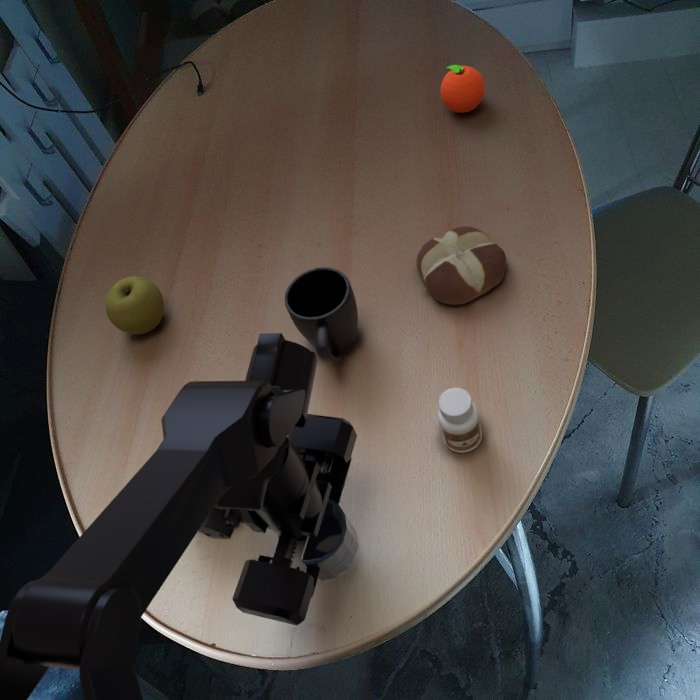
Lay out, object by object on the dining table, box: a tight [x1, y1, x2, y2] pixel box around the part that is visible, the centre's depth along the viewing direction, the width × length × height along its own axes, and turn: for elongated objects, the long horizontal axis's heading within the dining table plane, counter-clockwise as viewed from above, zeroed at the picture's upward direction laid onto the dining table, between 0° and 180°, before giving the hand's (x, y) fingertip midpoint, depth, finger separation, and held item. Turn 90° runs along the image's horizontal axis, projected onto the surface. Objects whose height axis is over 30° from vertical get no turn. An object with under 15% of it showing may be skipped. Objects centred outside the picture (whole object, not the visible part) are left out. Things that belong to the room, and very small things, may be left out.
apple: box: [104, 275, 165, 335], centre depth 95 cm, size 8×8×7 cm
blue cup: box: [277, 498, 359, 581], centre depth 67 cm, size 7×7×6 cm
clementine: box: [440, 64, 486, 114], centre depth 107 cm, size 8×7×7 cm
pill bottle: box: [436, 387, 483, 454], centre depth 73 cm, size 4×4×8 cm
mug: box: [284, 266, 359, 363], centre depth 83 cm, size 8×12×10 cm
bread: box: [416, 226, 507, 306], centre depth 88 cm, size 11×11×5 cm
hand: (322, 542), depth 68 cm, fingers closed on blue cup, 7 cm apart
